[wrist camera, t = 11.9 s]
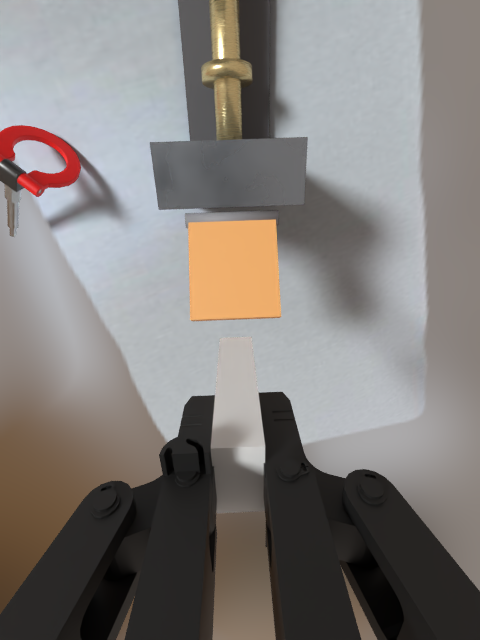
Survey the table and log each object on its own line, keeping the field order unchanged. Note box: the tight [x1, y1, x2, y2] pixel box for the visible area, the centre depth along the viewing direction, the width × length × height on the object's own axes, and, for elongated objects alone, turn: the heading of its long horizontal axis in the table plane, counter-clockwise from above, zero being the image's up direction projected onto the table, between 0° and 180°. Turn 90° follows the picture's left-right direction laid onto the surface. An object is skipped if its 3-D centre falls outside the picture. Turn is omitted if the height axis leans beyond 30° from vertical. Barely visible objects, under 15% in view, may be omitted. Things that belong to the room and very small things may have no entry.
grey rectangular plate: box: [150, 137, 308, 210], centre depth 26 cm, size 4×10×14 cm, turn 92°
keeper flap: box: [185, 210, 281, 321], centre depth 21 cm, size 1×6×8 cm
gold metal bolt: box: [201, 0, 252, 140], centre depth 25 cm, size 18×5×5 cm, turn 2°
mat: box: [178, 0, 270, 141], centre depth 26 cm, size 22×8×1 cm, turn 2°
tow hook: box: [0, 125, 81, 237], centre depth 32 cm, size 7×10×7 cm
